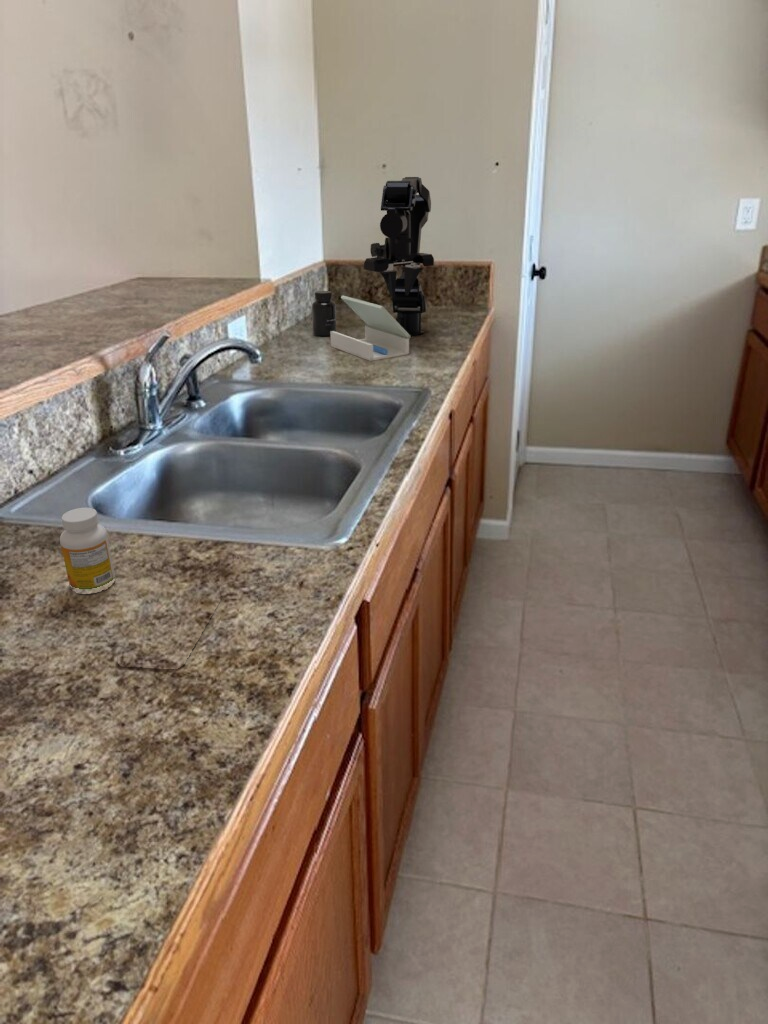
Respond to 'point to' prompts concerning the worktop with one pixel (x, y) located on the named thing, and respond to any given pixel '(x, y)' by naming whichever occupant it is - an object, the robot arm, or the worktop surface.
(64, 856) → the worktop surface
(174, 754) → the worktop surface
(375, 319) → the duct cover
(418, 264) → the robot arm
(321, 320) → the supplement bottle
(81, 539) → the supplement bottle
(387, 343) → the cable duct
